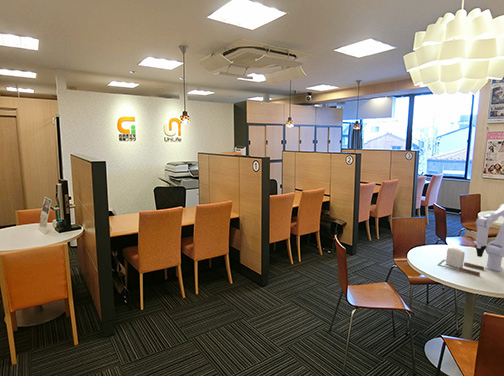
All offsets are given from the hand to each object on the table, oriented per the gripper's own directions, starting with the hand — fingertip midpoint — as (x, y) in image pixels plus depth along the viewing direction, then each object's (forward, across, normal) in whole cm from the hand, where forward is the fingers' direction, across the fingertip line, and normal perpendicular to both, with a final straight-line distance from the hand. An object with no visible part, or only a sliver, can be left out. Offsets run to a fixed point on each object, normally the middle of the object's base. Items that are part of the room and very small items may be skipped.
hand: (479, 256), depth 198 cm
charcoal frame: (+10, 0, -15) cm, 19 cm away
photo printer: (+11, 0, -13) cm, 17 cm away
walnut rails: (+10, 0, -3) cm, 11 cm away
